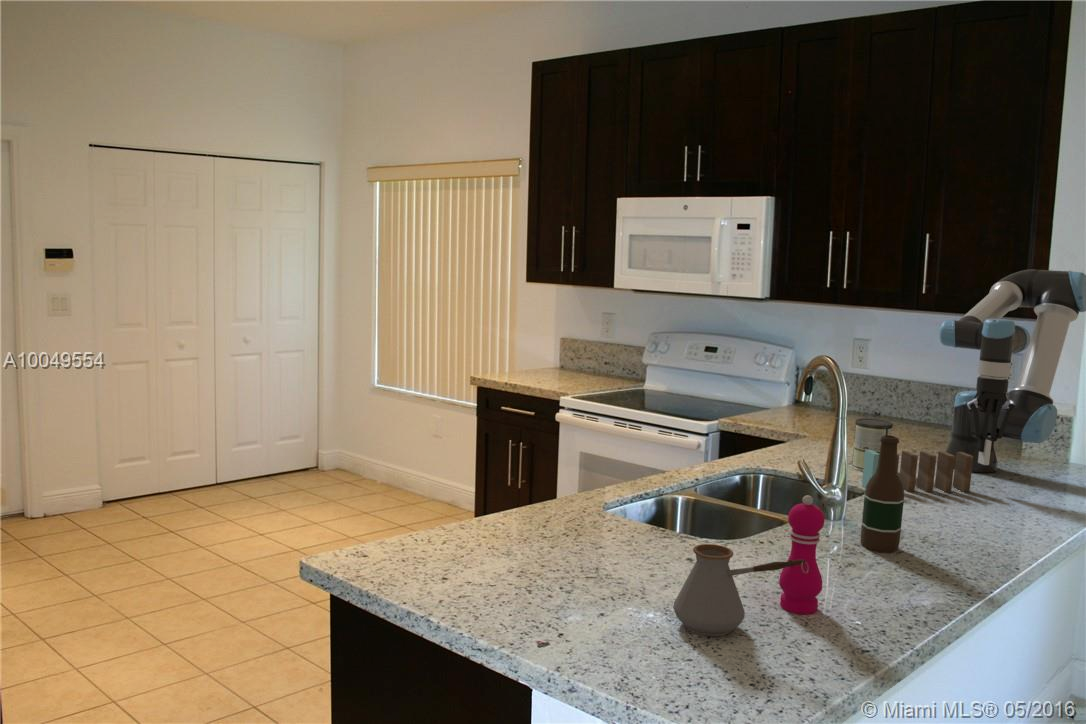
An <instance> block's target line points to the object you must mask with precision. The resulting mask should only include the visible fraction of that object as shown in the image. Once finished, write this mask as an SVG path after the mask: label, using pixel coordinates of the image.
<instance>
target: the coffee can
mask: <svg viewBox="0 0 1086 724" xmlns="http://www.w3.org/2000/svg"><path fill="white" fill-rule="evenodd" d="M893 427H894V423H893V422H892V421H888V420H884V419H878V418H867V417H866V418H864V417H863V418H857V419H855V427H854V438H853V439H854V440H853V451H852V462H851V468H852V469H853V470H856V471H858V472H862V473H863V468H864V458H865V450H872V451H874V452H877V453H880V447H881V441H880V439H881V436H885V435H890V436H893V435H892V433H893Z"/></svg>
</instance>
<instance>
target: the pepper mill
mask: <svg viewBox="0 0 1086 724" xmlns="http://www.w3.org/2000/svg"><path fill="white" fill-rule="evenodd" d="M787 520H788V521H787V523H788V524H789V526H790V527H791V529H790V530H789V534H790V535H789V539H790V540H791V549H790V553H789V556H788V559H787V560H786V562H788V560H792V561H796V560H805V561H806V562H807V564H808V566H809V571H808V573H804V572H807V569H808V568H807V564H806V563H805V564H803V565H802V566H803V570H804V572H803V571H802V568H801V565H794V566H793V567H792V568H790V567H789V566H788V567H785V568H782V569H781V571H780V575H779V579H778V583H779V587H780V589H781V590H782V591H783V592H782V593H781V595H780V601H779V605H780V607H781V608H782V609H783V610H785V611H787V612H790V613H793V614H798V615H811V614H815V613H817V611H818V606H819V599H818V598H817V596H819V594H821V592H822V591H823V578H822V575H821V574H822V573H821V571H820V568H819V566H818V563H817V557H816V556H817V553H816V552H817V545H818V544H819V543H820V542H821V540H820V537H821V534H820V531H822V529H823V528H824V525H825V515H824V512H823V511H822V509H821V508H820V507H818V506H816V505H815V504H814V498H813V497H812V496H811V495H809V494H808V495H804V496H803V497H802V502H801V503H798V504H796V505H794V506H793V507H792V508H790V511H789V512H788V516H787Z"/></svg>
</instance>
